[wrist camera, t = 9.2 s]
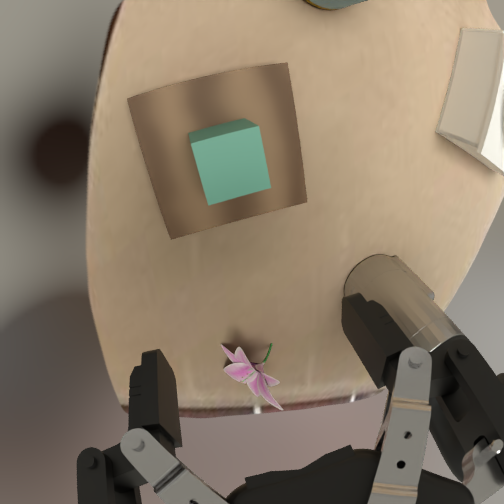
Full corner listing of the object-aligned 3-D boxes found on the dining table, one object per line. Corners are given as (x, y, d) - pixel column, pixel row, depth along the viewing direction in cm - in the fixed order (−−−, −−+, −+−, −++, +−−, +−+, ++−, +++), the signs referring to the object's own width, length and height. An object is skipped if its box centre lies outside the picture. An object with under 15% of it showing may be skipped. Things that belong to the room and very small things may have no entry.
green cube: (244, 118, 25) (258, 125, 21) (255, 169, 28) (271, 187, 24) (188, 133, 25) (190, 143, 20) (202, 184, 27) (208, 205, 23)
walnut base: (273, 64, 26) (287, 62, 23) (293, 188, 34) (307, 202, 31) (133, 97, 25) (127, 98, 22) (170, 222, 33) (170, 239, 29)
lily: (238, 305, 42) (215, 365, 35) (315, 338, 42) (303, 398, 35) (217, 343, 50) (197, 392, 43) (281, 369, 50) (267, 419, 43)
